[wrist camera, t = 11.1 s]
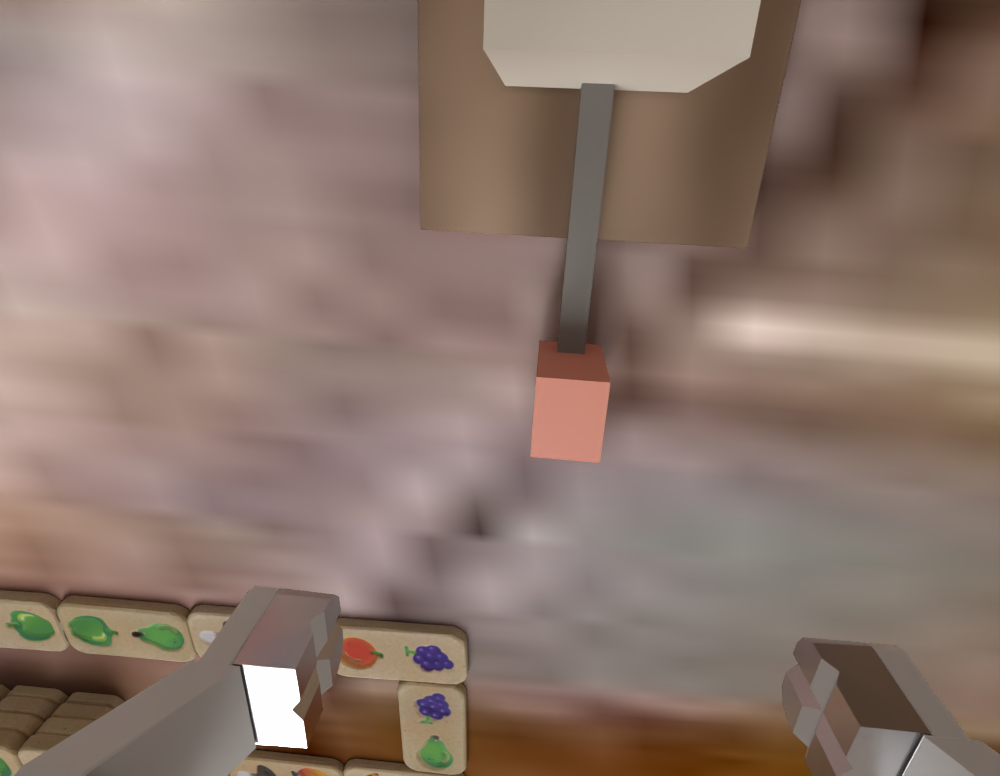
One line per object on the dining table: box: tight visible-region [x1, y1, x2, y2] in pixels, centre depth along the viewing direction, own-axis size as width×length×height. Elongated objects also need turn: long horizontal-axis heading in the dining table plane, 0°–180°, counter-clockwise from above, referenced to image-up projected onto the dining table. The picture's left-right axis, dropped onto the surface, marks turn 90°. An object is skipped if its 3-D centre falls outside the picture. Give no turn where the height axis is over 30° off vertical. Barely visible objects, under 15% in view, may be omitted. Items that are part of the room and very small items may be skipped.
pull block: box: [483, 0, 761, 463], centre depth 16 cm, size 6×19×6 cm, turn 177°
